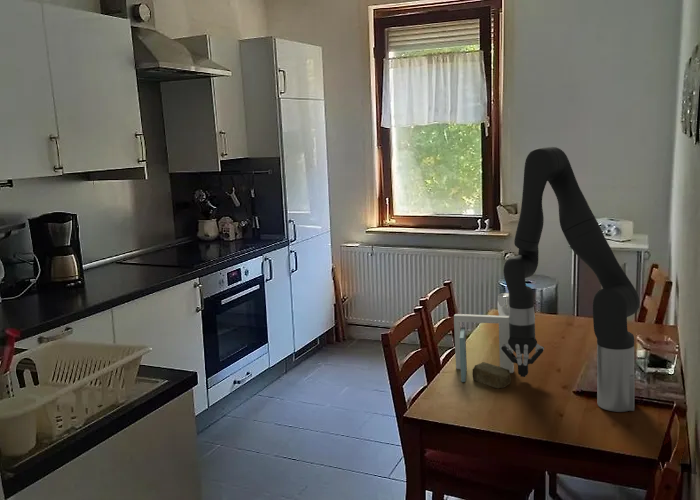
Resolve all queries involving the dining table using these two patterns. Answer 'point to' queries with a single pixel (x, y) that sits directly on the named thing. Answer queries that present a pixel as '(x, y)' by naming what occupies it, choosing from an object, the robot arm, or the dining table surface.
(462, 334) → the door
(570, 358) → the dining table surface
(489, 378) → the stone block
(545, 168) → the robot arm
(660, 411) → the dining table surface
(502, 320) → the door frame
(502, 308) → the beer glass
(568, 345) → the dining table surface
